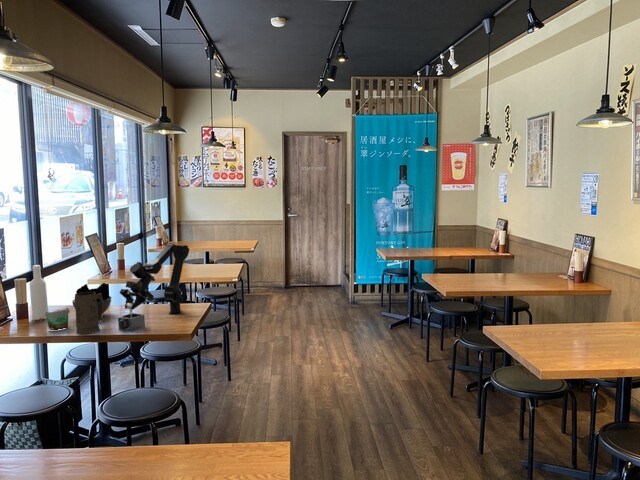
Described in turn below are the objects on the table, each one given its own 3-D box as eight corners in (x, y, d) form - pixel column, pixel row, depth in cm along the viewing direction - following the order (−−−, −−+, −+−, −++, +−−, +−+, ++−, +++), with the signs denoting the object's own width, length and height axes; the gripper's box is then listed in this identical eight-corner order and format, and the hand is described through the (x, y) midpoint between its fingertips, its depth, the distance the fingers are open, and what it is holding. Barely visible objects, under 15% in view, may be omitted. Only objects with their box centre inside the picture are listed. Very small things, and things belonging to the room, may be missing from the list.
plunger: (131, 320, 270) (130, 301, 269) (141, 321, 268) (140, 302, 266) (121, 323, 265) (120, 304, 263) (131, 324, 262) (130, 305, 261)
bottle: (40, 321, 284) (35, 267, 280) (29, 320, 286) (24, 266, 283) (52, 317, 291) (47, 264, 288) (41, 316, 294) (36, 264, 290)
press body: (132, 325, 272) (131, 312, 272) (145, 326, 269) (144, 314, 268) (114, 331, 262) (114, 318, 261) (128, 332, 258) (127, 320, 258)
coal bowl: (65, 320, 283) (63, 287, 281) (87, 311, 303) (85, 279, 301) (99, 321, 280) (97, 287, 278) (119, 312, 300) (117, 280, 297)
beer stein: (87, 335, 255) (86, 295, 254) (70, 333, 259) (69, 293, 258) (109, 328, 270) (109, 290, 269) (93, 327, 273) (92, 289, 272)
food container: (53, 333, 260) (51, 313, 259) (46, 331, 264) (44, 312, 263) (76, 327, 271) (74, 308, 270) (69, 325, 274) (67, 306, 273)
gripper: (120, 273, 271) (105, 298, 262) (148, 275, 263) (133, 301, 254) (133, 285, 279) (118, 310, 270) (160, 287, 271) (146, 313, 262)
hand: (128, 308), depth 264 cm, fingers closed on plunger, 4 cm apart
